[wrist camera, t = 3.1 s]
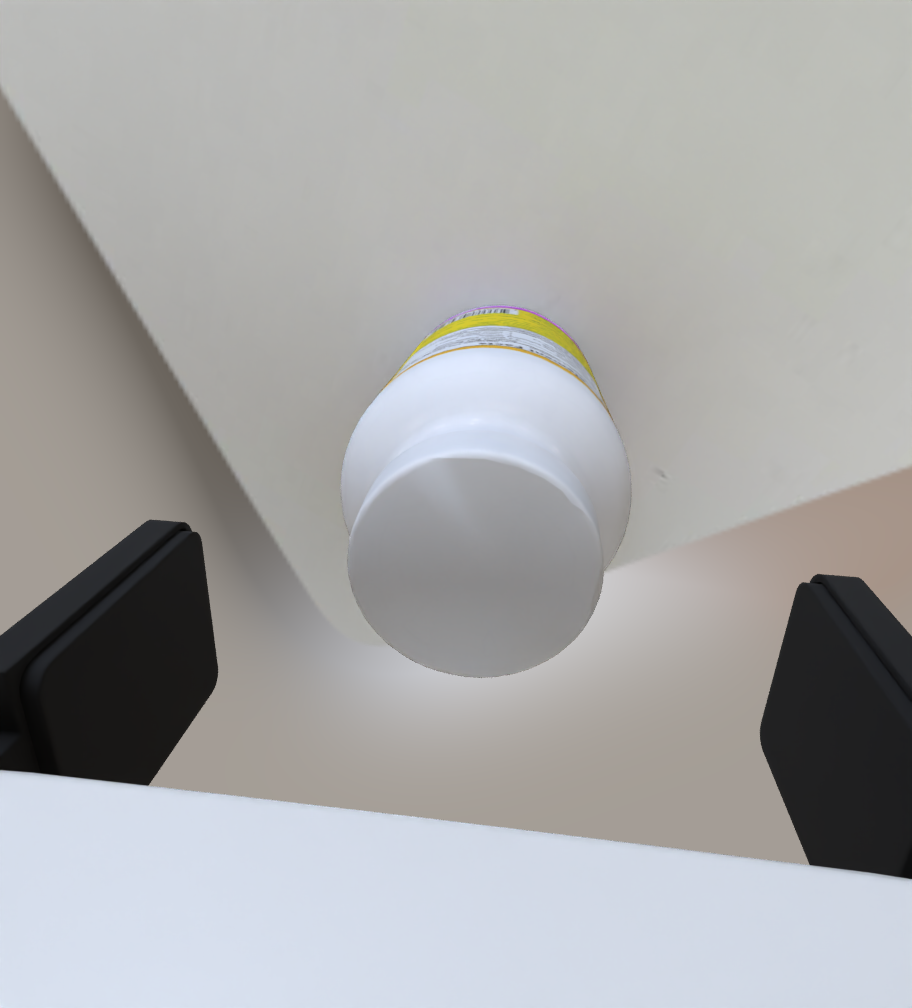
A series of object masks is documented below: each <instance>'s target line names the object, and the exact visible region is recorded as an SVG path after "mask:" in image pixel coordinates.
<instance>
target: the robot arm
mask: <svg viewBox="0 0 912 1008" xmlns="http://www.w3.org/2000/svg"><path fill="white" fill-rule="evenodd" d="M217 677H218V664H217V657H216V649H215V641H214V633H213V625H212V618H211V610H210V603H209V595H208V586H207V579H206V571H205V563H204V555H203V547H202V541H201V537H200V535H199V534H198V533H197V532H192V530H191V528H190V526H189V525H188V524H187V523H185V522H172V521H160V520H149V521H146V522H145V523H144V524H143V525H141V526H140V527H139V528H137V529H136V530H135V531H133V532H132V533H131V534H130V535H128V536H127V537H126V538H125V539H123V540H122V541H121V542H119V543H118V544H117V545H116V546H114V547H113V548H112V549H111V550H109V551H108V552H107V553H105V554H104V555H103V556H102V557H100V558H99V559H98V560H97V561H95V562H94V563H93V564H91V565H90V566H89V567H87V568H86V569H85V570H84V571H82V572H81V573H80V574H79V575H77V576H76V577H75V578H73V579H72V580H71V581H70V582H68V583H67V584H66V585H65V586H63V587H62V588H61V589H59V590H58V591H57V592H56V593H54V594H53V595H52V596H50V597H49V598H48V599H47V600H45V601H44V602H43V603H42V604H40V605H39V606H38V607H36V608H35V609H34V610H33V611H31V612H30V613H29V614H27V615H26V616H25V617H24V618H22V619H21V620H20V621H19V622H17V623H16V624H15V625H13V626H12V627H11V628H10V629H8V630H7V631H6V632H4V633H3V634H2V635H1V636H0V1008H912V636H911V635H910V634H909V633H908V632H907V631H906V629H905V628H904V627H903V626H902V625H901V624H900V622H899V621H898V620H897V619H896V618H895V617H894V616H893V614H892V613H891V612H890V611H889V610H888V609H887V608H886V606H885V605H884V604H883V603H882V602H881V601H880V600H879V598H878V597H877V596H876V595H875V594H874V593H873V591H872V590H871V589H870V588H869V587H868V586H867V585H866V583H865V582H864V581H863V580H862V579H860V578H858V577H846V576H834V575H822V574H817V575H815V576H813V578H812V579H811V581H810V583H804V582H803V583H801V584H800V585H799V586H798V588H797V591H796V594H795V598H794V601H793V606H792V609H791V613H790V617H789V620H788V624H787V628H786V631H785V635H784V639H783V643H782V646H781V650H780V654H779V658H778V662H777V666H776V669H775V673H774V677H773V680H772V684H771V688H770V692H769V695H768V699H767V703H766V707H765V710H764V715H763V718H762V722H761V727H760V740H761V746H762V749H763V752H764V755H765V757H766V759H767V762H768V764H769V767H770V769H771V771H772V774H773V777H774V779H775V781H776V784H777V786H778V789H779V791H780V794H781V796H782V798H783V801H784V803H785V806H786V808H787V810H788V813H789V815H790V818H791V820H792V823H793V825H794V828H795V830H796V832H797V835H798V837H799V840H800V842H801V845H802V847H803V849H804V852H805V854H806V857H807V859H808V862H809V864H810V865H804V864H796V863H787V862H780V861H772V860H763V859H756V858H748V857H740V856H732V855H724V854H716V853H707V852H700V851H692V850H683V849H675V848H668V847H659V846H651V845H644V844H634V843H627V842H619V841H611V840H602V839H594V838H586V837H578V836H569V835H561V834H553V833H545V832H536V831H528V830H520V829H511V828H503V827H494V826H486V825H478V824H470V823H462V822H454V821H444V820H437V819H429V818H419V817H412V816H403V815H394V814H386V813H378V812H369V811H360V810H351V809H342V808H335V807H326V806H318V805H309V804H300V803H292V802H282V801H275V800H266V799H258V798H250V797H242V796H233V795H225V794H215V793H207V792H198V791H189V790H180V789H171V788H162V787H154V786H148V785H149V784H150V783H151V781H152V780H153V778H154V777H155V775H156V774H157V772H158V771H159V769H160V768H161V766H162V765H163V763H164V762H165V761H166V759H167V758H168V756H169V755H170V753H171V752H172V750H173V749H174V747H175V746H176V744H177V743H178V742H179V740H180V739H181V737H182V736H183V734H184V733H185V731H186V730H187V729H188V727H189V726H190V724H191V722H192V721H193V720H194V718H195V717H196V715H197V714H198V712H199V711H200V710H201V708H202V707H203V705H204V704H205V702H206V701H207V699H208V698H209V696H210V695H211V694H212V692H213V690H214V688H215V685H216V682H217Z"/></svg>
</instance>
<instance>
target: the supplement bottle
mask: <svg viewBox="0 0 912 1008" xmlns="http://www.w3.org/2000/svg"><path fill="white" fill-rule="evenodd" d="M341 500H342V508H343V515H344V519H345V523H346V526H347V529H348V533H349V536H350V540H349V547H348V574H349V579H350V584H351V588H352V591H353V594H354V597H355V599H356V602H357V604H358V606H359V608H360V610H361V612H362V613H363V615H364V617H365V619H366V620H367V621H368V623H369V624H370V625H371V626H372V628H373V629H374V630H375V631H376V633H377V634H378V635H379V636H380V637H381V638H382V639H383V640H384V641H385V642H386V643H387V644H388V645H390V646H391V647H392V648H394V649H395V650H397V651H398V652H399V653H401V654H402V655H404V656H405V657H407V658H409V659H410V660H412V661H414V662H416V663H419V664H421V665H423V666H425V667H428V668H431V669H434V670H436V671H440V672H444V673H448V674H453V675H458V676H464V677H478V678H480V677H481V678H482V677H498V676H503V675H510V674H515V673H518V672H521V671H525V670H528V669H530V668H532V667H534V666H537V665H539V664H541V663H543V662H545V661H547V660H549V659H550V658H552V657H554V656H555V655H557V654H558V653H560V652H561V651H562V650H563V649H564V648H566V647H567V646H568V645H569V644H570V643H571V642H572V641H574V640H575V638H576V637H577V636H578V635H579V634H580V633H581V631H582V630H583V629H584V627H585V626H586V624H587V623H588V621H589V619H590V618H591V616H592V614H593V612H594V610H595V607H596V605H597V602H598V600H599V597H600V594H601V589H602V584H603V575H604V571H605V569H606V568H607V567H608V565H609V564H610V562H611V561H612V559H613V558H614V556H615V554H616V552H617V550H618V548H619V546H620V544H621V541H622V539H623V537H624V534H625V530H626V527H627V523H628V519H629V514H630V507H631V474H630V468H629V463H628V458H627V455H626V451H625V448H624V445H623V442H622V440H621V437H620V435H619V432H618V430H617V428H616V425H615V423H614V421H613V419H612V417H611V415H610V413H609V410H608V408H607V406H606V403H605V401H604V399H603V397H602V395H601V392H600V390H599V388H598V385H597V383H596V381H595V378H594V376H593V374H592V371H591V369H590V367H589V364H588V362H587V360H586V358H585V357H584V355H583V353H582V352H581V350H580V348H579V347H578V345H577V344H576V343H575V341H574V340H573V339H572V338H571V337H570V336H569V335H568V334H567V332H565V331H564V330H563V329H562V328H561V327H559V326H558V325H557V324H556V323H554V322H553V321H551V320H550V319H548V318H546V317H544V316H542V315H540V314H538V313H536V312H533V311H531V310H528V309H524V308H520V307H516V306H507V305H489V306H482V307H478V308H473V309H470V310H467V311H464V312H461V313H459V314H457V315H455V316H453V317H451V318H449V319H448V320H446V321H445V322H443V323H441V324H440V325H439V326H438V327H436V328H435V329H434V330H433V331H432V332H431V333H430V334H428V335H427V336H426V337H425V339H424V340H423V341H422V342H421V343H420V344H419V346H418V347H417V348H416V349H415V351H414V352H413V353H412V354H411V355H410V357H409V358H408V359H407V360H406V362H405V363H404V364H403V365H402V367H401V368H400V369H399V370H398V372H397V373H396V374H395V375H394V377H393V378H392V379H391V380H390V381H389V382H388V384H387V385H386V386H385V387H384V388H383V389H382V390H381V392H380V393H379V394H378V396H377V397H376V398H375V400H374V401H373V402H372V403H371V405H370V406H369V407H368V408H367V410H366V411H365V413H364V414H363V416H362V417H361V419H360V420H359V422H358V424H357V426H356V428H355V429H354V431H353V434H352V436H351V438H350V441H349V444H348V447H347V449H346V453H345V457H344V461H343V466H342V474H341Z"/></svg>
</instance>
